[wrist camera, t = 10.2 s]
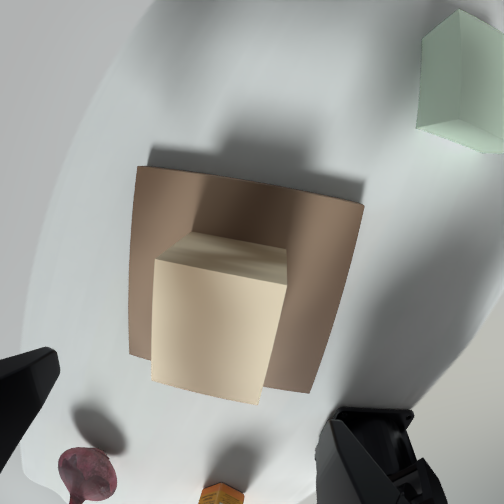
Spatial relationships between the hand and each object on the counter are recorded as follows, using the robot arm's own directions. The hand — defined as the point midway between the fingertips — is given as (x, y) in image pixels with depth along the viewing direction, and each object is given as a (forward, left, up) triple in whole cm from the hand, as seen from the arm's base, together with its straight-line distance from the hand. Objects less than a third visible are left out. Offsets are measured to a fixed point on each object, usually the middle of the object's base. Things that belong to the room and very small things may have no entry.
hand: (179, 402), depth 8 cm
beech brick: (0, 0, -9) cm, 9 cm away
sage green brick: (-11, -14, -10) cm, 21 cm away
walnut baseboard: (0, 0, -10) cm, 10 cm away
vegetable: (+11, +22, -10) cm, 27 cm away
